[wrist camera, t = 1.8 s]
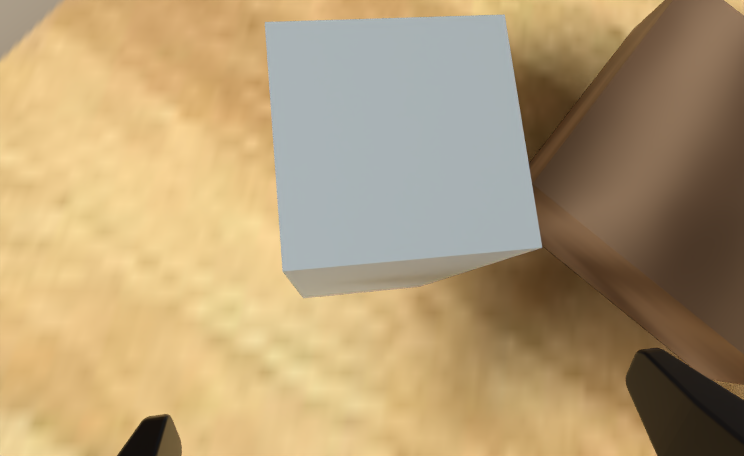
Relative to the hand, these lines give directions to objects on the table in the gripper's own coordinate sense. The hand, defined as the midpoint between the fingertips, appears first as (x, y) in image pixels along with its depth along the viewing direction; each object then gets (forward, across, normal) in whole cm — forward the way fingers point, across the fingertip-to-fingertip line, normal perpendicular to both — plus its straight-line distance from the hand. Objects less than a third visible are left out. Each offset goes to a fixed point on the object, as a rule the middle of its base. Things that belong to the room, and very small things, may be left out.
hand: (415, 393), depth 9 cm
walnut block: (+12, -15, +4) cm, 20 cm away
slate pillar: (+12, 0, +5) cm, 12 cm away
